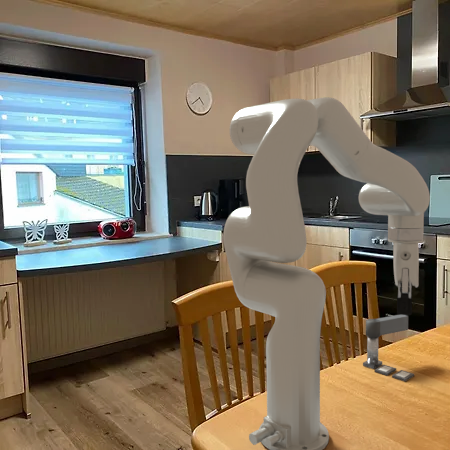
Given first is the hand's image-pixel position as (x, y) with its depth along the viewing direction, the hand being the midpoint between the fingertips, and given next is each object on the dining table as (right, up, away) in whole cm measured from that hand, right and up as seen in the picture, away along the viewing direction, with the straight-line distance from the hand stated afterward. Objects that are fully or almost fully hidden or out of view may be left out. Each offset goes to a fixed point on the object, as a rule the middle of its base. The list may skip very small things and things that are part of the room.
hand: (404, 313), depth 108 cm
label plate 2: (0, -15, +2) cm, 15 cm away
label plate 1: (-3, -15, +5) cm, 16 cm away
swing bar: (-1, -6, +10) cm, 12 cm away
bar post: (-5, -14, +9) cm, 17 cm away
